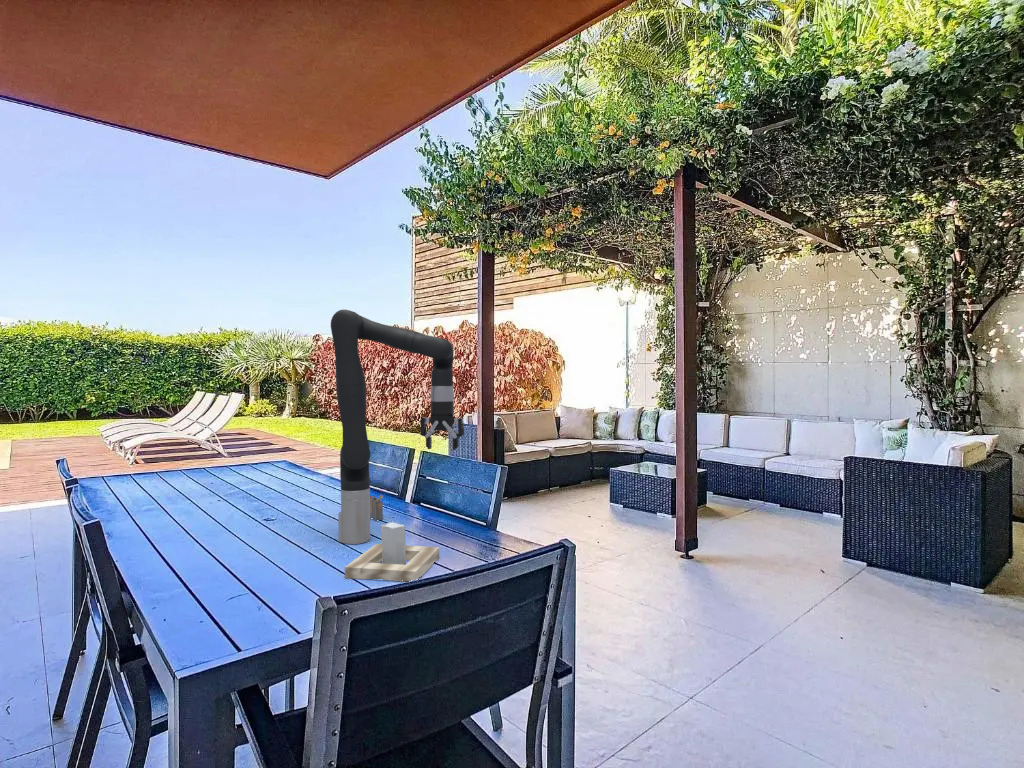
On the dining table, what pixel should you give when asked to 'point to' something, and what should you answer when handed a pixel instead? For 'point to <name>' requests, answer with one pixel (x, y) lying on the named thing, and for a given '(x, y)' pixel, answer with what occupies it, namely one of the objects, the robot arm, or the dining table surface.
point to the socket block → (373, 569)
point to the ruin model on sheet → (376, 508)
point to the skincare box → (393, 544)
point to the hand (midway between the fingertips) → (442, 449)
